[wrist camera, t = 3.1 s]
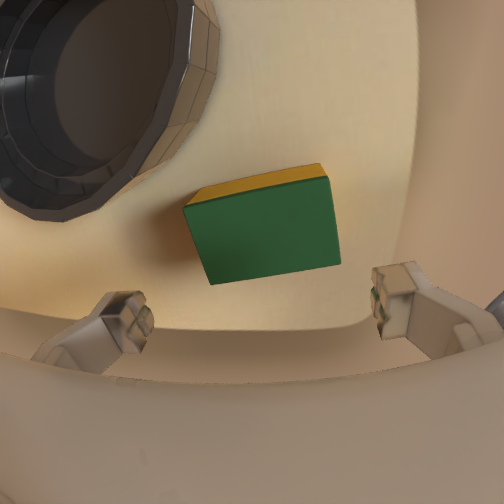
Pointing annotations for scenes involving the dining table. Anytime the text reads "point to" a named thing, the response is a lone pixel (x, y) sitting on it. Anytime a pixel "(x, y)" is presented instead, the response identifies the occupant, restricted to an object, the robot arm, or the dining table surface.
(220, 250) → the sponge
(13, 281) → the dining table surface
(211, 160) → the dining table surface
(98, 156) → the bowl
